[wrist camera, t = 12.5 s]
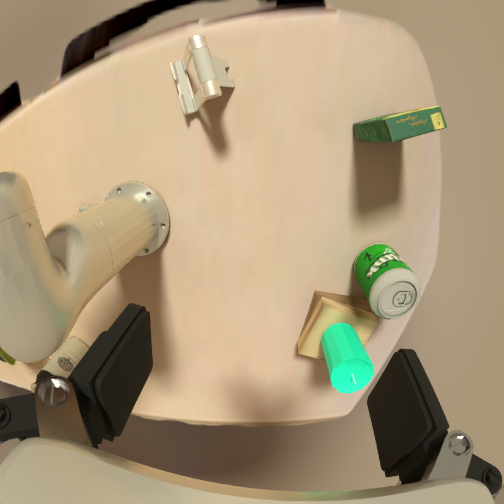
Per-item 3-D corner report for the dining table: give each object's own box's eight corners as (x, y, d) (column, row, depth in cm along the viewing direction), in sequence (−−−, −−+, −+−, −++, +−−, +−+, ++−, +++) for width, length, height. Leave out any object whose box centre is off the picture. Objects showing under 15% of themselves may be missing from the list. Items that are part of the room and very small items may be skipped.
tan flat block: (299, 334, 52) (300, 345, 49) (314, 288, 48) (316, 298, 45) (349, 341, 51) (352, 351, 49) (368, 298, 47) (372, 307, 45)
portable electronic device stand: (174, 66, 35) (151, 52, 28) (223, 48, 34) (211, 30, 26) (187, 115, 38) (167, 111, 31) (238, 99, 37) (229, 90, 29)
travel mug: (84, 364, 61) (51, 411, 45) (63, 342, 59) (26, 387, 43) (97, 355, 59) (62, 407, 43) (75, 331, 57) (34, 380, 41)
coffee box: (398, 111, 35) (442, 104, 23) (404, 129, 36) (449, 129, 24) (351, 123, 37) (382, 117, 25) (358, 141, 38) (390, 144, 26)
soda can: (388, 283, 46) (413, 323, 34) (348, 280, 46) (365, 323, 35) (398, 242, 43) (430, 275, 32) (356, 238, 43) (380, 271, 32)
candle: (346, 315, 42) (366, 355, 31) (362, 342, 43) (384, 385, 31) (314, 335, 44) (323, 379, 32) (331, 360, 44) (344, 407, 33)
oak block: (297, 342, 49) (298, 353, 46) (321, 296, 45) (324, 306, 42) (346, 355, 49) (349, 366, 46) (373, 312, 45) (378, 322, 42)
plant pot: (25, 329, 61) (8, 346, 53) (33, 353, 64) (18, 369, 56) (6, 319, 61) (-10, 334, 53) (14, 342, 64) (0, 357, 56)
